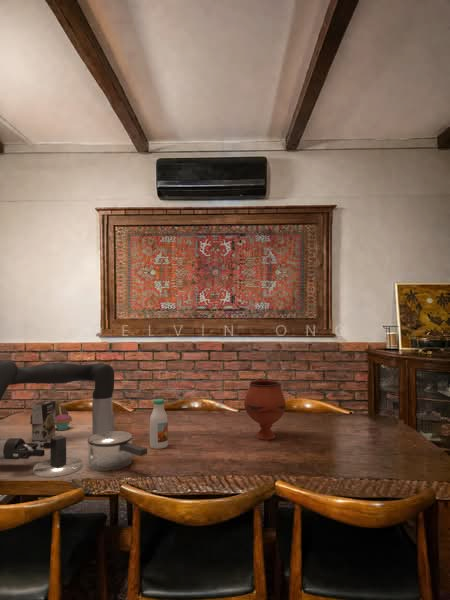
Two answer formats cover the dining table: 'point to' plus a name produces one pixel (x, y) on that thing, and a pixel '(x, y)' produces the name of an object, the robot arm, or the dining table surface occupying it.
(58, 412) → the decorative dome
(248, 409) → the goblet
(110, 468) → the cooker pot
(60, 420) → the cupcake
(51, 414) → the coffee box
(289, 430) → the dining table surface
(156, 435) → the milk bottle
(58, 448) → the cooker lid
